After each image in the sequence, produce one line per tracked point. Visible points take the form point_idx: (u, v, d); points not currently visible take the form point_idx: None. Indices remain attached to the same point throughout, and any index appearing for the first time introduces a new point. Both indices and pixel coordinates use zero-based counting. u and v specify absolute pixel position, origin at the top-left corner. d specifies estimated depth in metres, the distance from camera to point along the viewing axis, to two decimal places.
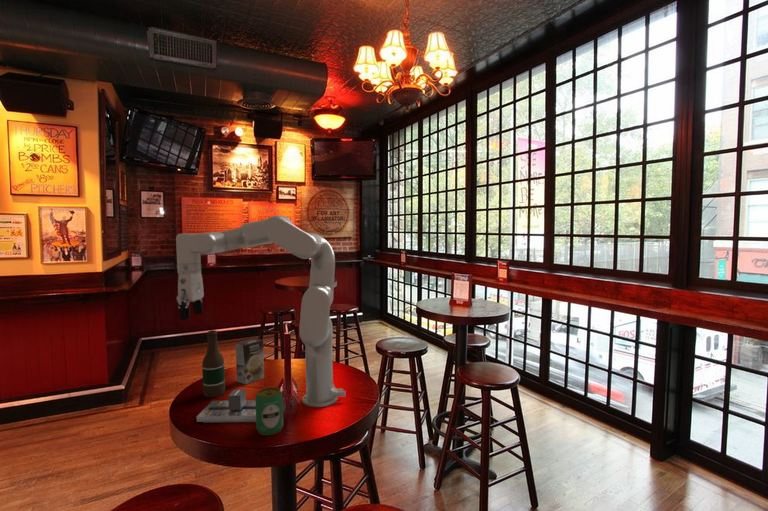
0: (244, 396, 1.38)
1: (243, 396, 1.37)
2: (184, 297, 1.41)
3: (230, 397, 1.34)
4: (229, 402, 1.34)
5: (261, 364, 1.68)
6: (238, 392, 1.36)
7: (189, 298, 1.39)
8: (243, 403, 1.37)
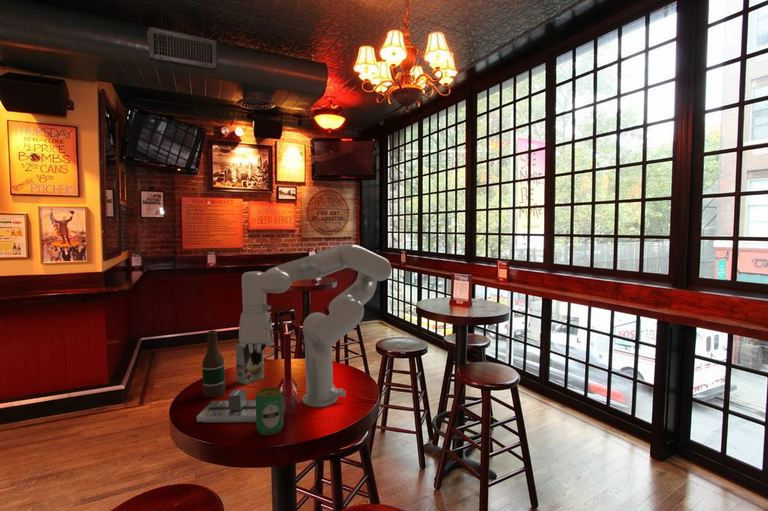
0: (244, 396, 1.38)
1: (243, 396, 1.37)
2: None
3: (230, 397, 1.34)
4: (229, 402, 1.34)
5: (261, 364, 1.68)
6: (238, 392, 1.36)
7: (272, 336, 1.37)
8: (243, 403, 1.37)
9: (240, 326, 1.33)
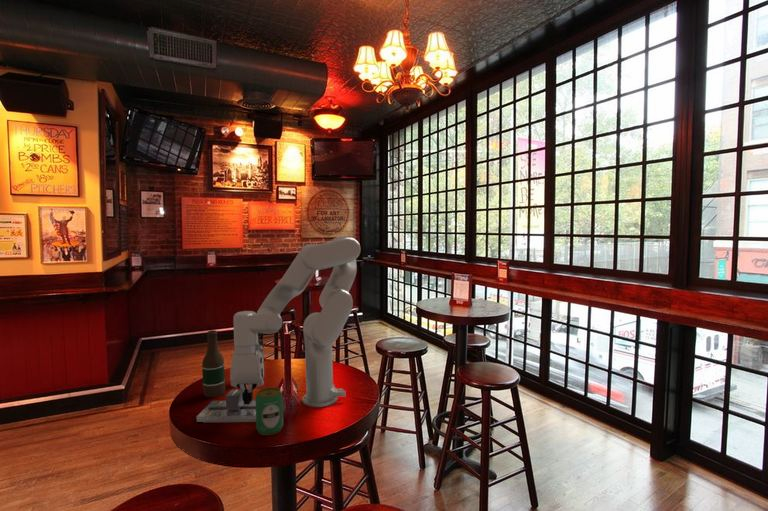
0: None
1: (240, 396, 1.37)
2: None
3: (228, 397, 1.34)
4: (227, 402, 1.34)
5: None
6: (236, 392, 1.36)
7: (263, 375, 1.38)
8: (241, 403, 1.37)
9: (231, 366, 1.34)
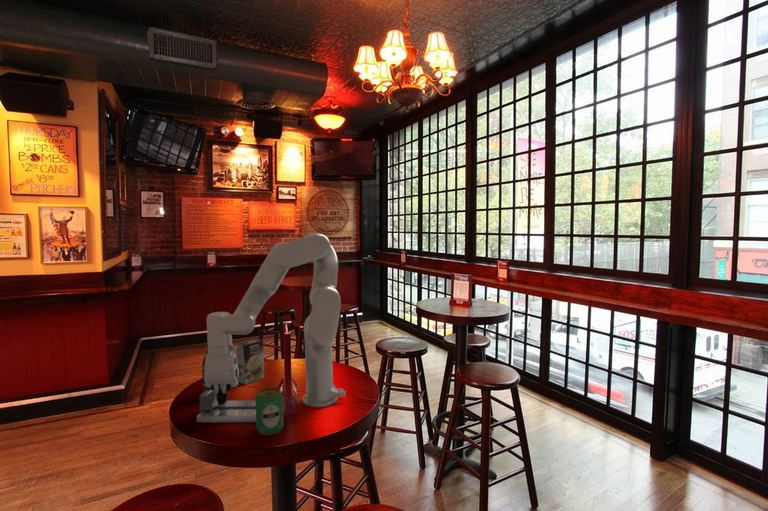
0: (216, 396, 1.38)
1: (215, 396, 1.37)
2: None
3: (201, 397, 1.34)
4: (200, 402, 1.34)
5: (261, 364, 1.68)
6: (210, 393, 1.36)
7: (238, 375, 1.38)
8: (215, 403, 1.37)
9: (205, 367, 1.34)
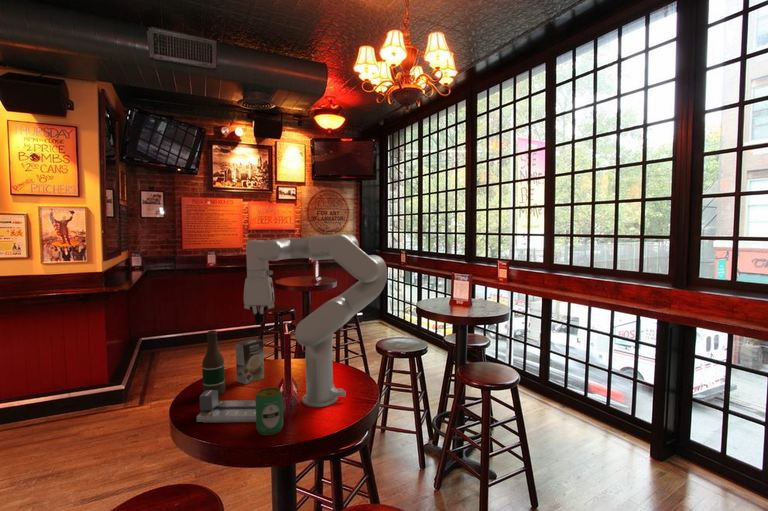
0: (216, 396, 1.38)
1: (215, 396, 1.37)
2: None
3: (201, 397, 1.34)
4: (200, 402, 1.34)
5: (261, 364, 1.68)
6: (210, 393, 1.36)
7: None
8: (215, 403, 1.37)
9: (245, 289, 1.46)
